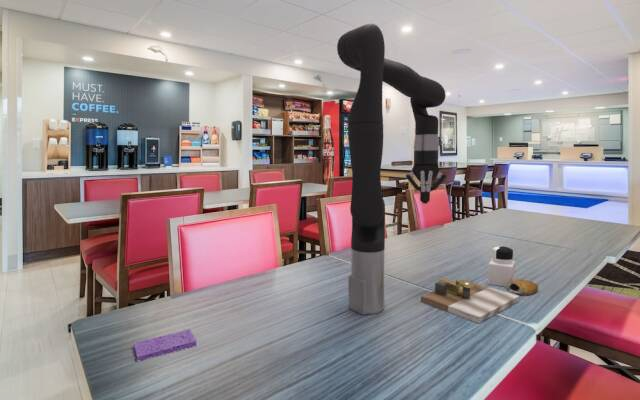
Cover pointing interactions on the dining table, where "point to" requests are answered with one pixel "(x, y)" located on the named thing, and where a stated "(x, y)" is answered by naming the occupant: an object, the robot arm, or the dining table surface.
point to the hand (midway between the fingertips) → (424, 203)
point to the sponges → (164, 344)
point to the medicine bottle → (501, 266)
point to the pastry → (522, 287)
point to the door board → (470, 301)
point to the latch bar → (456, 285)
